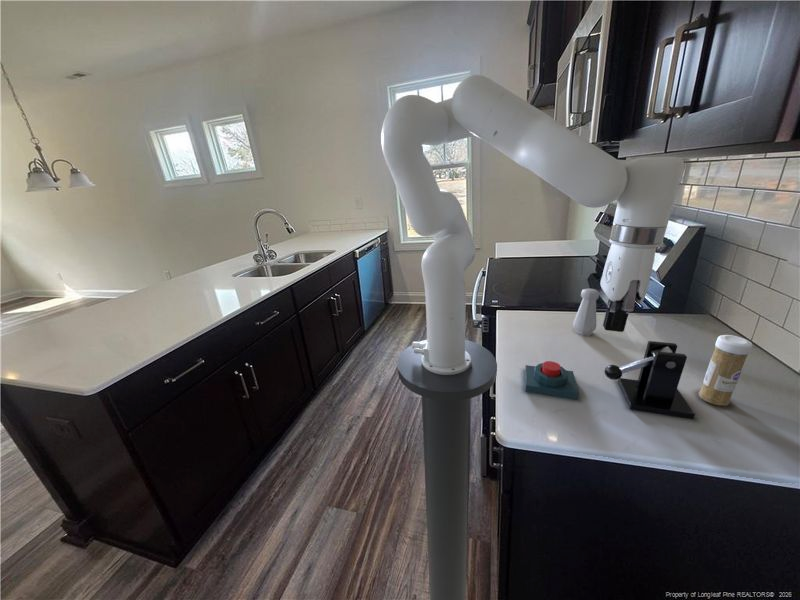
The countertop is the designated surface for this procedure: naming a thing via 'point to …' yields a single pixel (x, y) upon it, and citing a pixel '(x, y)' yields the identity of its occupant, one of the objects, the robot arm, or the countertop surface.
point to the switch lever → (631, 365)
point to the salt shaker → (586, 312)
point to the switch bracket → (658, 384)
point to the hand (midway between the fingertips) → (612, 329)
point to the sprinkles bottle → (724, 369)
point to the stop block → (550, 382)
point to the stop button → (551, 369)
